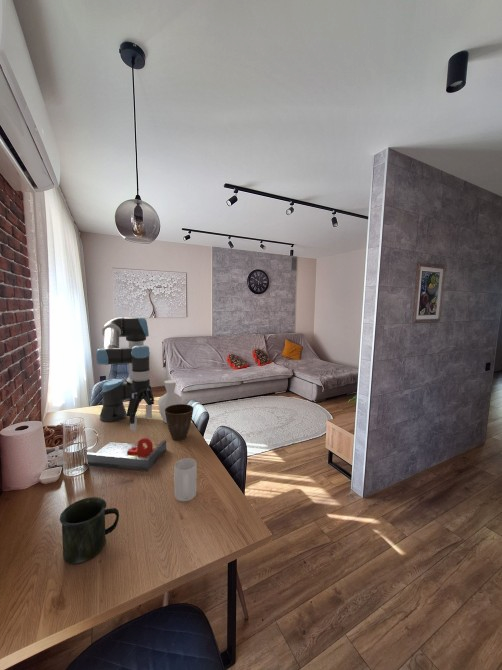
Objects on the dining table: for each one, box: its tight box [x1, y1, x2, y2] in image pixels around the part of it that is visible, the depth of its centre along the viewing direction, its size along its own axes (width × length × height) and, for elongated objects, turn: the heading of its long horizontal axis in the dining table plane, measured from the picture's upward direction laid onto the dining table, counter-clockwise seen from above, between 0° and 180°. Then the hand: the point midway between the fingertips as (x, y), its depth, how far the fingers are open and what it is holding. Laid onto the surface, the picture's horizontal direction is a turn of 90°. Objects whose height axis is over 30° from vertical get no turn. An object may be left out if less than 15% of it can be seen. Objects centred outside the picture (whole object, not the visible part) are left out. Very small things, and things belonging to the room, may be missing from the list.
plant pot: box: [165, 403, 194, 441], centre depth 146 cm, size 15×15×16 cm
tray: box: [86, 439, 167, 472], centre depth 126 cm, size 18×30×5 cm, turn 82°
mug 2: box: [173, 457, 198, 502], centre depth 99 cm, size 8×12×12 cm
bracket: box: [127, 437, 154, 456], centre depth 127 cm, size 12×4×8 cm, turn 82°
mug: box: [59, 496, 120, 565], centre depth 78 cm, size 11×15×12 cm
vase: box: [158, 379, 183, 424], centre depth 167 cm, size 14×14×25 cm
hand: (141, 423), depth 126 cm, fingers open, 13 cm apart
